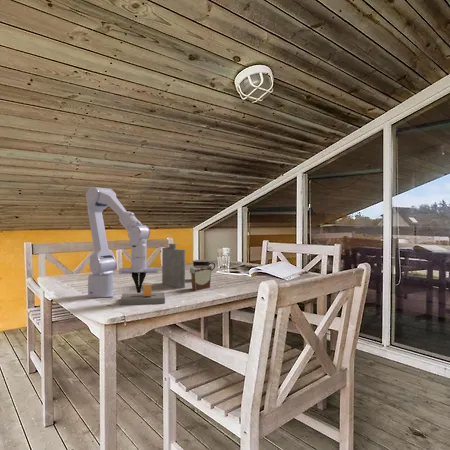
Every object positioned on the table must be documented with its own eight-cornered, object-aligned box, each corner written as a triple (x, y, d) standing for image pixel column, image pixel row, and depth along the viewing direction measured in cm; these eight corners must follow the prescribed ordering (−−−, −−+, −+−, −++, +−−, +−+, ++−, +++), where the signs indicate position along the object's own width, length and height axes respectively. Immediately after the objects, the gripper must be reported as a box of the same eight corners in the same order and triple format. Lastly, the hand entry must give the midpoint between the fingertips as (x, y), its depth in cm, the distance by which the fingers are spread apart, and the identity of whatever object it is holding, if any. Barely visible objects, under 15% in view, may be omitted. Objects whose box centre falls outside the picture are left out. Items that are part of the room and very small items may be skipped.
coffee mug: (192, 281, 177) (192, 261, 177) (193, 278, 186) (193, 259, 186) (215, 281, 178) (215, 261, 177) (215, 278, 186) (215, 259, 186)
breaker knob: (143, 296, 132) (143, 283, 132) (143, 293, 137) (143, 281, 137) (151, 295, 133) (151, 283, 132) (151, 293, 137) (151, 281, 137)
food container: (202, 285, 166) (202, 264, 165) (212, 287, 162) (212, 266, 162) (183, 289, 156) (183, 267, 156) (193, 291, 152) (193, 268, 152)
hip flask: (186, 287, 161) (186, 244, 161) (179, 288, 158) (179, 244, 158) (166, 282, 173) (166, 242, 172) (159, 283, 170) (159, 242, 169)
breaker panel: (120, 305, 128) (120, 299, 128) (122, 298, 138) (122, 293, 138) (164, 303, 131) (164, 297, 131) (163, 297, 141) (163, 292, 141)
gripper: (118, 258, 128) (118, 295, 128) (158, 257, 131) (158, 293, 131) (119, 256, 135) (119, 291, 135) (158, 255, 138) (157, 290, 138)
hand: (138, 292), depth 134 cm, fingers closed
